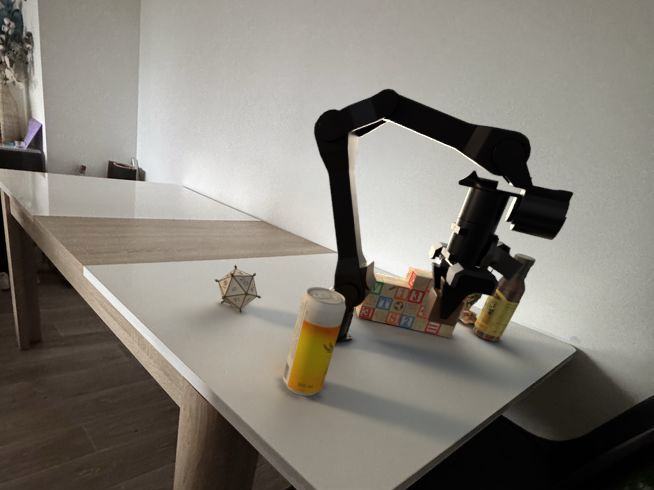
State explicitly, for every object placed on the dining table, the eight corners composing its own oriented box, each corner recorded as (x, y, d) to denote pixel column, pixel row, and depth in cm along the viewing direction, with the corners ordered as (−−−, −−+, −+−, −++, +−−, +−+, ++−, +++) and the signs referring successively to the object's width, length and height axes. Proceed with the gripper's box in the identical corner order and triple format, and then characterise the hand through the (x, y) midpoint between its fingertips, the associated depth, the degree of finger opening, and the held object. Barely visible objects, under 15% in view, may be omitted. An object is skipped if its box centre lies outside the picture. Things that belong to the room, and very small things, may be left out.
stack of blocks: (357, 318, 87) (373, 265, 81) (354, 307, 92) (369, 257, 87) (451, 338, 87) (473, 287, 82) (442, 326, 93) (463, 277, 87)
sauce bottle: (468, 327, 95) (504, 248, 86) (494, 334, 94) (533, 255, 86) (475, 338, 89) (514, 255, 81) (503, 346, 89) (546, 263, 80)
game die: (241, 322, 82) (277, 293, 79) (219, 320, 74) (257, 288, 71) (221, 289, 85) (255, 259, 81) (197, 283, 77) (233, 251, 74)
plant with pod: (466, 311, 106) (498, 239, 97) (486, 330, 96) (524, 251, 87) (437, 305, 105) (467, 232, 96) (455, 324, 95) (490, 244, 86)
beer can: (327, 397, 58) (355, 305, 51) (289, 398, 56) (313, 303, 49) (313, 373, 63) (336, 287, 56) (277, 373, 61) (297, 284, 54)
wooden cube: (427, 320, 65) (437, 295, 63) (422, 310, 69) (431, 286, 67) (454, 327, 65) (465, 302, 63) (448, 316, 69) (458, 292, 67)
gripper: (560, 248, 51) (507, 350, 58) (508, 223, 68) (472, 304, 74) (474, 229, 52) (432, 332, 58) (444, 209, 69) (414, 291, 75)
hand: (440, 313), depth 67 cm, fingers closed on wooden cube, 4 cm apart
